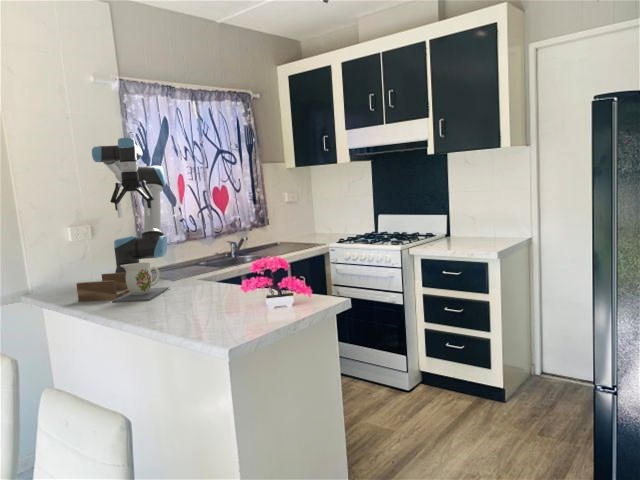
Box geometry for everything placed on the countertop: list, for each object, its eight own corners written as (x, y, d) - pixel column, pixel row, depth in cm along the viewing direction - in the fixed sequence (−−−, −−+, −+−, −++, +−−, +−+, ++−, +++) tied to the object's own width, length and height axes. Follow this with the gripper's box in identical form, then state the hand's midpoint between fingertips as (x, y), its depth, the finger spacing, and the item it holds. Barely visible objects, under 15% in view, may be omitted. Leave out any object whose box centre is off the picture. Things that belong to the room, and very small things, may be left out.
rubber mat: (135, 290, 227) (135, 289, 227) (169, 288, 226) (169, 287, 226) (112, 302, 203) (112, 300, 203) (149, 300, 202) (149, 298, 202)
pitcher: (167, 290, 218) (164, 260, 217) (129, 298, 204) (126, 266, 203) (154, 288, 225) (151, 259, 224) (116, 296, 212) (113, 264, 210)
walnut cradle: (104, 290, 235) (103, 273, 234) (138, 288, 234) (136, 271, 233) (78, 301, 211) (76, 283, 210) (115, 299, 210) (113, 281, 209)
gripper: (99, 173, 225) (104, 218, 227) (152, 169, 224) (157, 215, 226) (107, 173, 232) (112, 217, 234) (158, 169, 231) (162, 214, 234)
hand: (134, 216), depth 230 cm, fingers open, 13 cm apart
